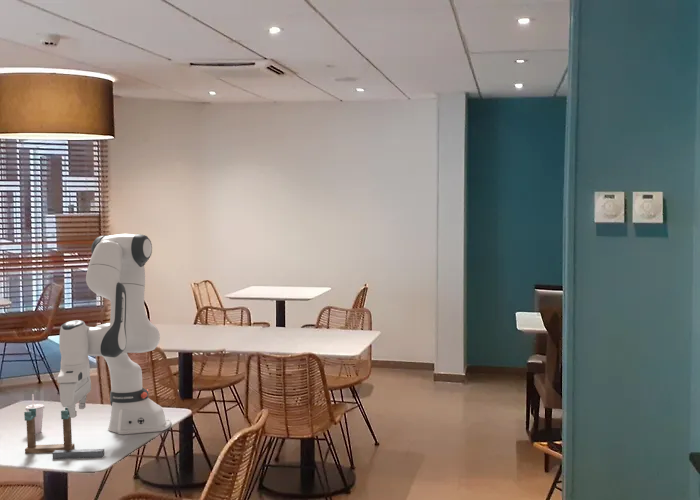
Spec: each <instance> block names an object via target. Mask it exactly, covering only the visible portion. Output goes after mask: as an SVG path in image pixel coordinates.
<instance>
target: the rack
mask: <svg viewBox="0 0 700 500" xmlns="http://www.w3.org/2000/svg"><path fill="white" fill-rule="evenodd" d="M23 413H24V421H26V438H27V439H26V441H27V443H26V444H27V447H26V448H25V449H24V453H25V454H43V453H48V454H49V453H51V454H52V453H53V452H54V451H55V450H75V443H73V439H72V418H70V413H69V411H68V407H64V410H60V418H61V420H62V428H63V430H62V431H63V432H62V433H63V435H62V436H63V443H61V444H60V443H57V444H55V443H54V444H37V443H36V442H37V441H36V439H37V438H36V434H35V417H36V408H30V409H29V412H27V411H24V412H23Z"/></svg>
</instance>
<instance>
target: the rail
mask: <svg viewBox="0 0 700 500" xmlns="http://www.w3.org/2000/svg"><path fill="white" fill-rule="evenodd" d="M51 454H52V460H68V459H69V460H70V459H72V460H73V459H100V458H101V459H103V458H104V457H105V448H91V449H90V448H87V449H80V448H79V449H73V450H55V451H54V452H51ZM102 457H103V458H102Z"/></svg>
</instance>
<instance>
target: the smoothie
mask: <svg viewBox="0 0 700 500" xmlns="http://www.w3.org/2000/svg"><path fill="white" fill-rule="evenodd" d="M31 402H32V403H31V404H29V405H26V406H25V412H29V409H30V408H36V417H35V435H37V434H40V433H42V431H43V430H42V428H43V418H44V409H45V405H44V404H43V403H36V404H35V397H34V394H33V393H32V394H31Z"/></svg>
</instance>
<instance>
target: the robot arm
mask: <svg viewBox="0 0 700 500" xmlns="http://www.w3.org/2000/svg"><path fill="white" fill-rule="evenodd" d="M90 248H91V249H90V250H91V257H90V260H89V263H88V266H87V270H86V275H85V282H86V285H87V287H88V288H89V290H91V292H93V293H94V294H96V295H97V296H99V297H102V298H104V299H106V300H109V301H110V319H109V320H110V321H109V322H107V323H102V324H97V325H95V326H88V325H86V323H85V321H83V320H80V319H79V320H78V319H76V320H73V319H72V320H70V321H69V320H68V321H65V323H63V324H61V326H60V328H59V340H58V343H59V344H58V345H59V346H58V347H59V353H60V357H61V359H60V368H59V369H60V370H59V373H58V375H57V378H56V380H57V384H59V386H58V387H59V388H58V390H59V398H60V404H61V407H62V408H66V407H68V411H69V413H70V418H71V419H74V418H76V417H77V416H78V415H77V410H76V404H77V403H78V409H79V410H84V409H85V408H86V402H87V397H88V396H87V395H88V394H89V393H90V392H91V391H92V382H91V371H90V369H91V368H90V359H89V356H91V357H102V358H103V359H104V361H105V362H106V364H107V367H108V369H109V377H110V385H111V386H110V389H111V390H110V391H109V393H110V394H109V403H110V406H111V408H110V409H111V410H110V420H109V425H108V427H107V430H108V431H110V432H113V433H116V434H118V435H132V434H142V433H144V434H145V433H154V432H155V433H157V432H162V431H165V430H167V429H169V428H170V427H171V425H172V421H171V419H170V418H166V417H165V410H164V407H162V406H161V405H159V404H158V403H156V402H155V401H153V400H152V399H150V398H149V389H148V388H147V389H145V388H143V371H142V368H141V366H140V365H139V364H138V363H137V362H135V361H133V360H132V359H131V358H130V356H129V354H128V353H130V354H131V353H135V354H137V353H139V354H142V353H147V352H151V351H155V350H156V349H157V347H158V345H159V343H160V338H161V336H160V330H159V329H158V328H157V327H156V325H155V324H153V323H152V322H151V321H150V320H149V318H148V316H147V313H146V309H145V291H146V290H145V289H146V287H145V286H146V271H145V268H146V267H145V265H146V264H147V262H149V259H150V258H151V257H152V253H153V244H152V241H151V239H150V238H149V237H148V236H147V235H146V234H145V235H144V234H141V233H137V234H134V233H119V234H112V235H111V234H110V235H100V236H98V237H96V238H95V239H94V240H93V242H92V244H91V247H90Z"/></svg>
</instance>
